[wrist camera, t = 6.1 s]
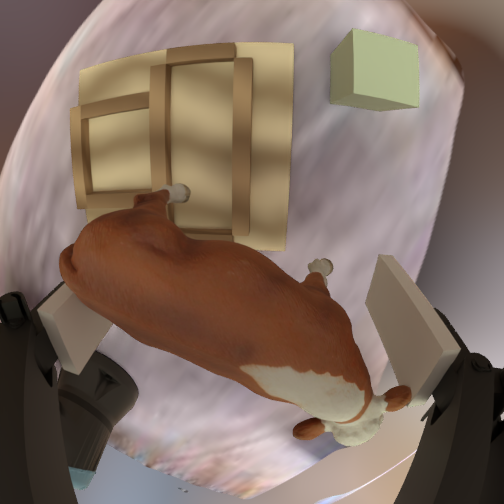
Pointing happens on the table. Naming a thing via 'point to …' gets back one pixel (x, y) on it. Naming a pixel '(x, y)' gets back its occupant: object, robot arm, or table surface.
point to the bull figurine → (229, 314)
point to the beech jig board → (191, 137)
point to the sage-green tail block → (374, 72)
